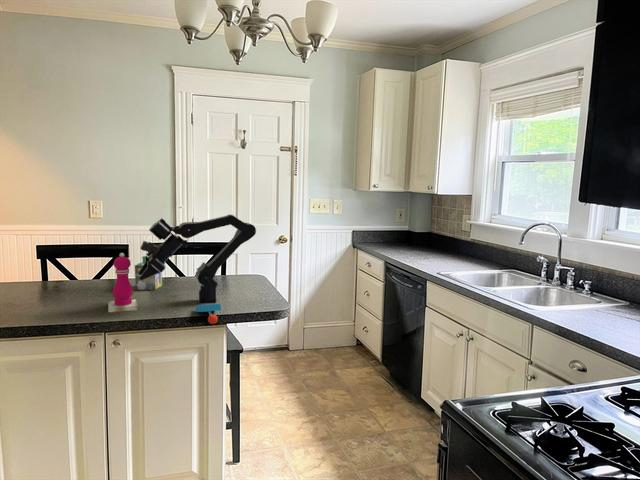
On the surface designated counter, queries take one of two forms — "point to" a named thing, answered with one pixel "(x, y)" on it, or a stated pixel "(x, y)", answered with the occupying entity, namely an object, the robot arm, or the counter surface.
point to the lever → (212, 307)
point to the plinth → (122, 307)
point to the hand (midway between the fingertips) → (139, 276)
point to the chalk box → (147, 279)
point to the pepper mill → (122, 281)
